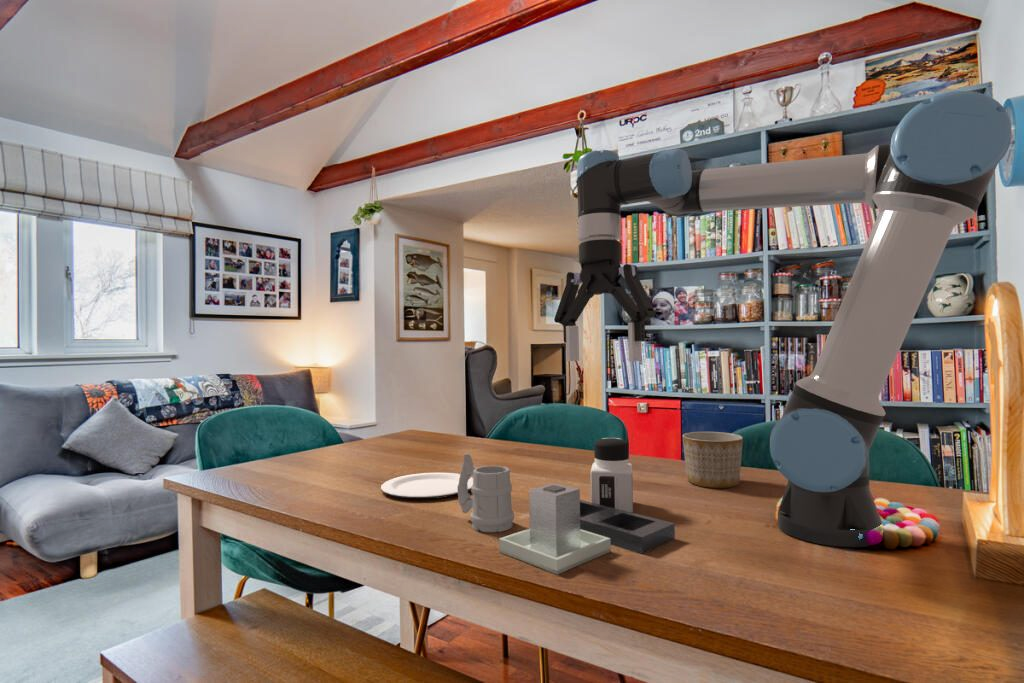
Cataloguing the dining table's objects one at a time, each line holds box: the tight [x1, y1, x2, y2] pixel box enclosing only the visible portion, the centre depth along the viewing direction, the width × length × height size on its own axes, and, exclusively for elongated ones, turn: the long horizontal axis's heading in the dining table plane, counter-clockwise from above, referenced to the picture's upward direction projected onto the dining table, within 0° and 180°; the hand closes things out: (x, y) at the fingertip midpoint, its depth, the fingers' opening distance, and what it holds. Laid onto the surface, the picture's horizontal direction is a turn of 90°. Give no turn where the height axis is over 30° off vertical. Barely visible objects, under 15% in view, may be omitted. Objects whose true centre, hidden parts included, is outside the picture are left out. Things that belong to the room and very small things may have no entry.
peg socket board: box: [528, 499, 676, 555], centre depth 96 cm, size 24×9×2 cm, turn 43°
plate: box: [380, 472, 473, 499], centre depth 124 cm, size 21×21×2 cm
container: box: [589, 437, 634, 513], centre depth 109 cm, size 8×8×13 cm
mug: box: [457, 452, 515, 533], centre depth 100 cm, size 8×12×12 cm, turn 52°
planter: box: [682, 431, 744, 489], centre depth 125 cm, size 13×13×10 cm
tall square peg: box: [528, 482, 581, 558], centre depth 86 cm, size 5×5×9 cm
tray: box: [498, 527, 612, 575], centre depth 86 cm, size 12×12×2 cm
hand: (602, 361), depth 100 cm, fingers open, 13 cm apart
